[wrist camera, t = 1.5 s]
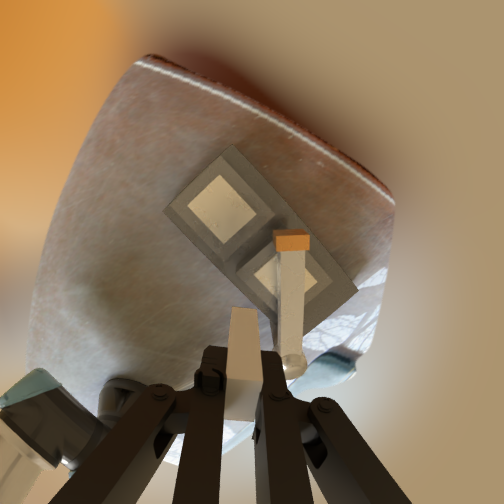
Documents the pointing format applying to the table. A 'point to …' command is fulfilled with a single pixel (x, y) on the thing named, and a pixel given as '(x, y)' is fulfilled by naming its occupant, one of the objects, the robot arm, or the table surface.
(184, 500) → the robot arm
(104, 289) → the table surface
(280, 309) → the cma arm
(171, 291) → the table surface
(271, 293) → the grey stepped block base
